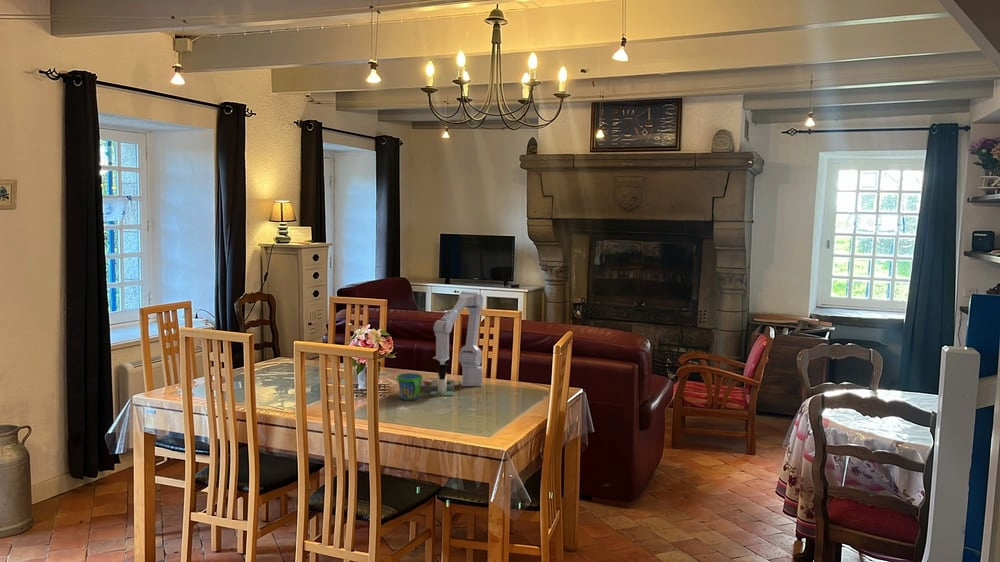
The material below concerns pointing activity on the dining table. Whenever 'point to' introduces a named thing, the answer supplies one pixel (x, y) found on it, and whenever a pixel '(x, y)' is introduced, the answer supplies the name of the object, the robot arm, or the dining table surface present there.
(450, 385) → the housing
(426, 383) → the plunger
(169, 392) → the dining table surface
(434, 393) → the mat
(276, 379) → the dining table surface
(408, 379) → the snack cup
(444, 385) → the cylinder
